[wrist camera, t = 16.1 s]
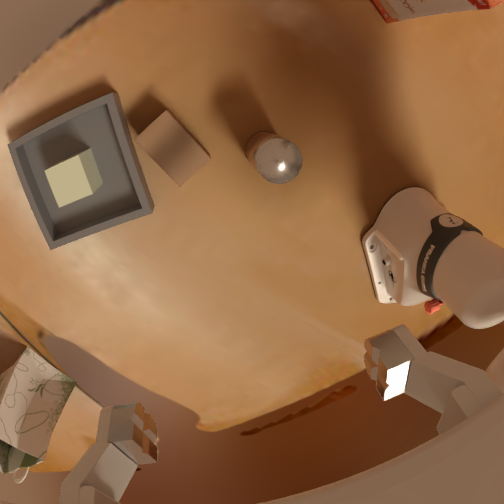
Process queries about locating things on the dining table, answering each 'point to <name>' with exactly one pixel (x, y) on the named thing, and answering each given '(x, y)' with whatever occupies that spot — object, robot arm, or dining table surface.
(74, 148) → the charcoal tray
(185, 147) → the walnut block
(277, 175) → the metal cylinder
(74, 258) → the dining table surface
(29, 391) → the grocery bag
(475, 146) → the dining table surface
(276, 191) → the dining table surface
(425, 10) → the cracker box
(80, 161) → the sage cube
